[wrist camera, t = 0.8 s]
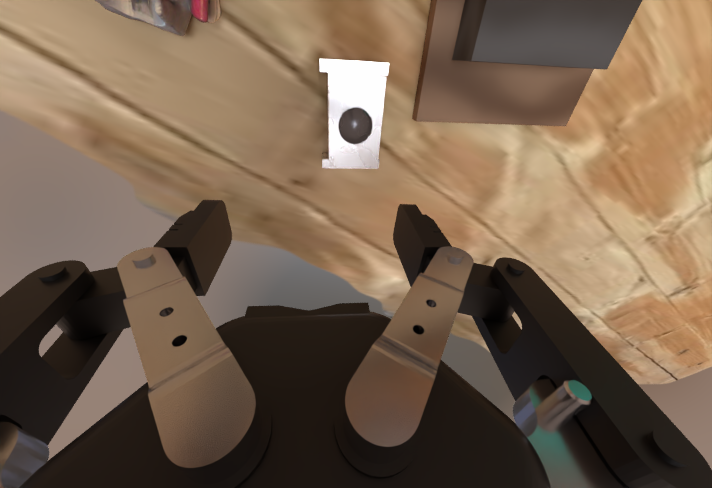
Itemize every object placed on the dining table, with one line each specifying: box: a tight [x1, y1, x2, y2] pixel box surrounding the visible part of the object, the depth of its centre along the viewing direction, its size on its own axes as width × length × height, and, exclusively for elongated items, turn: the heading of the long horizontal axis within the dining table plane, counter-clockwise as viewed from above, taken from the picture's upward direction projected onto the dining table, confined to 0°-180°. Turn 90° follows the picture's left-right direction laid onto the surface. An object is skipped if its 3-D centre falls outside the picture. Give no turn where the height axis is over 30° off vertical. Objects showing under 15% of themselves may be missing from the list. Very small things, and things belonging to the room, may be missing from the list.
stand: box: [412, 0, 642, 126], centre depth 22 cm, size 20×18×6 cm
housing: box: [320, 58, 389, 169], centre depth 26 cm, size 10×6×5 cm, turn 177°
